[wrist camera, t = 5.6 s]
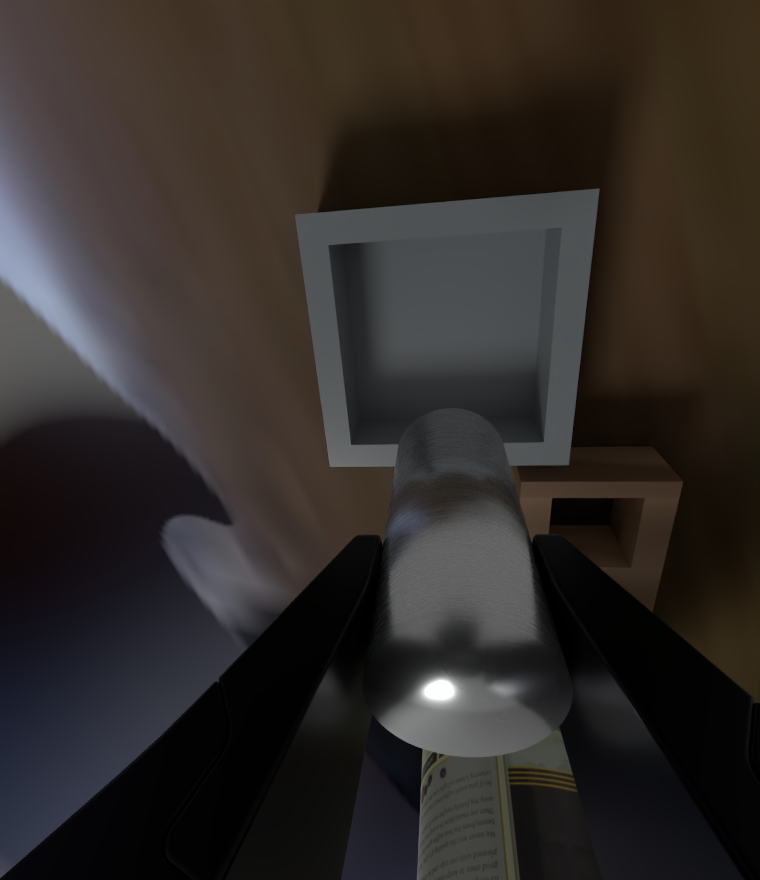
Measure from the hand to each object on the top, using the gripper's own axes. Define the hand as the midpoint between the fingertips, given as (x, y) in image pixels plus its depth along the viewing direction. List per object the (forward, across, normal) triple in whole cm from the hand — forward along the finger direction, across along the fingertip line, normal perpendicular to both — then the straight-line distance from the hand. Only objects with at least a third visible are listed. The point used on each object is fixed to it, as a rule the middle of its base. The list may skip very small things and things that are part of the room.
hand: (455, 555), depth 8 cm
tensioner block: (+13, -6, +10) cm, 17 cm away
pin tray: (+13, 0, -1) cm, 13 cm away
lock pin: (+4, 0, 0) cm, 4 cm away
